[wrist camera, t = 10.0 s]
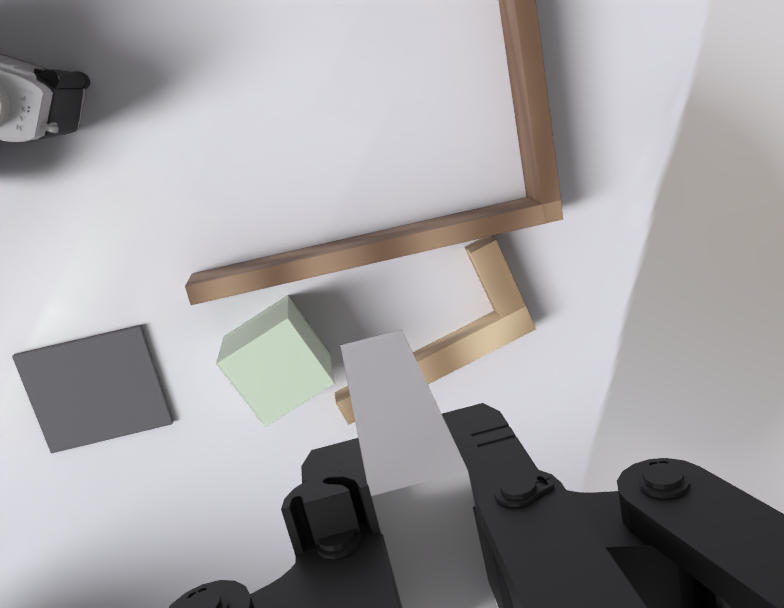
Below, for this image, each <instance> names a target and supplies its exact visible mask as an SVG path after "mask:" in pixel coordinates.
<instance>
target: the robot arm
mask: <svg viewBox="0 0 784 608" xmlns="http://www.w3.org/2000/svg"><path fill="white" fill-rule="evenodd" d="M340 346H341V351H342V357H343V362H344V367H345V372H346V377H347V382H348V387H349V392H350V397H351V402H352V407H353V413H354V418H355V423H356V428H357V433H358V438H356V439H352V440H348V441H345V442H341V443H337V444H333V445H329V446H326V447H322V448H318V449H314V450H311V452H310V453H309V455H308V457H307V458H306V460H305V461H304V463H303V465H302V484H301V485H299V486H297V487H296V488H294V489H293V490H292V491H291V492H290V493H289V495H288V496H287V497H286V498H285V499H284V502H283V505H282V508H281V511H282V514H283V517H284V520H285V523H286V527H287V530H288V533H289V536H290V539H291V543H292V546H293V549H294V552H295V556H296V563H295V564H294V565H293V567H292V568H291V569H290V570H289V571H288V572H286V573H285V574H284V575H283V576H282V577H281V578H279V579H277V580H276V581H274V582H272V583H271V584H269V585H267V586H265V587H264V588H262V589H260V590H258V591H256V592H254V593H252V594H249V592H248V590H247V588H246V586H244V585H242V584H240V583H238V582H236V581H228V580H218V581H214V582H210V583H206V584H202V585H200V586H198V587H196V588H194V589H192V590H190V591H188V592H186V593H185V594H184V595H182V596H181V597H180V598H179V599H177V600H176V601H175V602H174V603H172V604H171V605H170V606H169V608H497V607H496V602H497V604H498V607H499V608H784V514H783V513H781V512H779V511H777V510H776V509H774V508H772V507H770V506H769V505H767V504H765V503H763V502H761V501H760V500H758V499H756V498H754V497H753V496H751V495H749V494H747V493H746V492H744V491H742V490H740V489H739V488H737V487H735V486H733V485H731V484H730V483H728V482H726V481H724V480H723V479H721V478H719V477H717V476H715V475H714V474H712V473H710V472H708V471H707V470H705V469H703V468H701V467H700V466H697V465H695V464H692V463H689V462H687V461H684V460H676V459H669V458H659V459H649V460H646V461H642V462H639V463H635V464H633V465H631V466H630V467H628V468H627V469H625V470H624V471H623V472H622V473H621V475H620V477H619V478H618V480H617V485H618V491H615V492H598V493H580V492H574V491H568V490H566V489H565V488H564V486H563V485H562V483H561V482H560V481H559V480H558V479H556V478H555V477H554V476H553V475H552V474H549V473H546V472H543V471H540V470H538V469H537V467H536V466H535V464H534V462H533V461H532V459H531V458H530V456H529V455H528V453H527V452H526V450H525V449H524V447H523V446H522V444H521V443H520V441H519V440H518V438H517V437H516V436H515V434H514V432H513V430H512V429H511V427H509V425H508V423H507V421H506V420H505V418H504V417H503V415H502V414H501V412H500V411H498V410H496V409H494V408H492V407H490V406H488V405H486V404H484V403H481V404H477V405H473V406H470V407H466V408H462V409H458V410H454V411H451V412H447V413H443V414H441V412H440V410H439V408H438V406H437V404H436V401H435V399H434V397H433V395H432V393H431V391H430V389H429V386H428V384H427V382H426V380H425V378H424V376H423V374H422V372H421V369H420V367H419V365H418V363H417V361H416V359H415V357H414V354H413V352H412V350H411V348H410V346H409V344H408V342H407V340H406V337H405V335H404V333H403V331H402V330H398V331H394V332H390V333H386V334H382V335H379V336H375V337H371V338H367V339H363V340H359V341H355V342H351V343H347V344H343V345H340ZM495 599H496V602H495Z"/></svg>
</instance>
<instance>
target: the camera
mask: <svg viewBox="0 0 784 608" xmlns="http://www.w3.org/2000/svg"><path fill="white" fill-rule="evenodd" d="M89 85H90V80H89V78H88V76H87V75H85V74H84V73H82V72H69V71H61V70H50V69H46V68H43V67H40V66H37V65H34V64H31V63H28V62H25V61H22V60H19V59H16V58H13V57H10V56H7V55H4V54H0V140H2V141H8V142H24V141H25V142H27V141H34V140H39V139H43V138H48V137H53V136H58V135H65V134H68V133H72V132H75V131H77V130H78V129H79V123H80V119H81V113H82V108H83V103H84V98H85V93H86V88H88V86H89Z"/></svg>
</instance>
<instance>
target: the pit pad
mask: <svg viewBox="0 0 784 608" xmlns="http://www.w3.org/2000/svg"><path fill="white" fill-rule="evenodd" d="M12 357H13V360H14V362H15V365H16V367H17V370H18V372H19V375H20V377H21V380H22V382H23V385H24V387H25V390H26V392H27V395H28V397H29V400H30V402H31V405H32V407H33V409H34V412H35V414H36V417H37V419H38V422H39V424H40V427H41V429H42V432H43V434H44V437H45V439H46V442H47V444H48V447H49V449H50V452H51V453H55V452H59V451H63V450H67V449H71V448H76V447H80V446H84V445H88V444H92V443H96V442H100V441H105V440H109V439H113V438H117V437H121V436H125V435H129V434H133V433H138V432H142V431H146V430H150V429H154V428H158V427H162V426H167V425H171V424H172V423H173V419H172V416H171V413H170V410H169V407H168V404H167V401H166V398H165V395H164V392H163V389H162V386H161V383H160V380H159V377H158V374H157V371H156V368H155V365H154V362H153V359H152V356H151V353H150V350H149V347H148V344H147V341H146V338H145V335H144V332H143V330H142V327H141V325H139V326H134V327H130V328H126V329H121V330H117V331H113V332H108V333H104V334H100V335H95V336H91V337H87V338H83V339H78V340H74V341H70V342H65V343H61V344H57V345H52V346H48V347H44V348H39V349H35V350H31V351H26V352H22V353H18V354H14V355H13V356H12Z"/></svg>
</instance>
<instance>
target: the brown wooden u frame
mask: <svg viewBox="0 0 784 608" xmlns="http://www.w3.org/2000/svg"><path fill="white" fill-rule="evenodd" d="M499 6H500V13H501V20H502V27H503V34H504V41H505V48H506V55H507V62H508V69H509V76H510V83H511V90H512V97H513V104H514V112H515V119H516V126H517V133H518V140H519V147H520V154H521V161H522V168H523V175H524V182H525V189H526V196H527V197H526V198H522V199H518V200H513V201H509V202H505V203H500V204H496V205H491V206H487V207H483V208H478V209H474V210H469V211H465V212H461V213H456V214H452V215H448V216H443V217H439V218H434V219H430V220H426V221H421V222H417V223H412V224H408V225H404V226H399V227H395V228H390V229H386V230H382V231H377V232H373V233H369V234H364V235H360V236H355V237H351V238H347V239H342V240H338V241H333V242H329V243H325V244H320V245H316V246H312V247H307V248H303V249H298V250H294V251H290V252H285V253H281V254H276V255H272V256H268V257H263V258H259V259H255V260H250V261H246V262H241V263H237V264H233V265H228V266H224V267H219V268H215V269H211V270H206V271H202V272H198V273H193V274H192V275H191V276H190V278H189V280H188V282H187V284H186V286H185V288H186V291H187V294H188V298H189V301H190V304H191V305H194V304H199V303H203V302H207V301H212V300H216V299H220V298H225V297H229V296H233V295H238V294H242V293H246V292H251V291H255V290H259V289H264V288H268V287H272V286H277V285H281V284H285V283H290V282H294V281H298V280H303V279H307V278H311V277H316V276H320V275H324V274H328V273H333V272H337V271H341V270H346V269H350V268H354V267H359V266H363V265H367V264H372V263H376V262H380V261H385V260H389V259H393V258H398V257H402V256H406V255H411V254H415V253H419V252H424V251H428V250H432V249H437V248H441V247H445V246H450V245H454V244H458V243H463V242H467V241H471V240H476V239H480V238H484V237H489V236H493V235H497V234H502V233H506V232H510V231H515V230H519V229H523V228H528V227H532V226H536V225H541V224H545V223H549V222H554V221H558V220H562V219H563V213H562V205H561V197H560V190H559V182H558V174H557V166H556V158H555V150H554V142H553V134H552V126H551V119H550V111H549V103H548V95H547V87H546V79H545V71H544V63H543V55H542V48H541V40H540V32H539V24H538V16H537V8H536V0H499Z"/></svg>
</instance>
